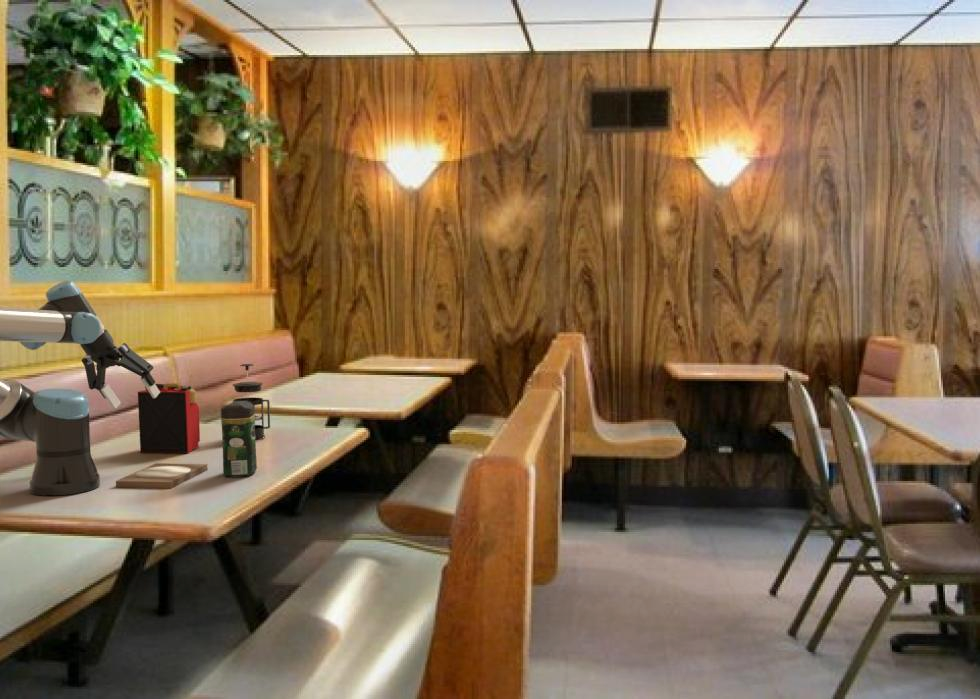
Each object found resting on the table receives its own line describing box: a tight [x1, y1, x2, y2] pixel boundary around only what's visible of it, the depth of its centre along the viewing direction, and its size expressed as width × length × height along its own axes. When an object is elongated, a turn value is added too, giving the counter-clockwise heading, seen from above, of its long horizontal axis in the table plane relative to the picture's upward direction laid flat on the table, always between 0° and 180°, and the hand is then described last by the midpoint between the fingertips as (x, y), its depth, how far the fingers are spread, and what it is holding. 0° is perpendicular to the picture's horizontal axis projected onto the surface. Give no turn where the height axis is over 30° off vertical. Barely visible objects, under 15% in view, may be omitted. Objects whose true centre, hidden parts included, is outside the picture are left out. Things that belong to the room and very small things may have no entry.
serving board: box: [115, 462, 208, 489], centre depth 227 cm, size 20×14×2 cm
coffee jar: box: [220, 400, 258, 478], centre depth 231 cm, size 10×8×19 cm
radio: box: [137, 382, 201, 454], centre depth 262 cm, size 16×10×20 cm, turn 84°
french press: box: [232, 363, 271, 440], centre depth 280 cm, size 12×9×23 cm
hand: (137, 400), depth 245 cm, fingers open, 13 cm apart
